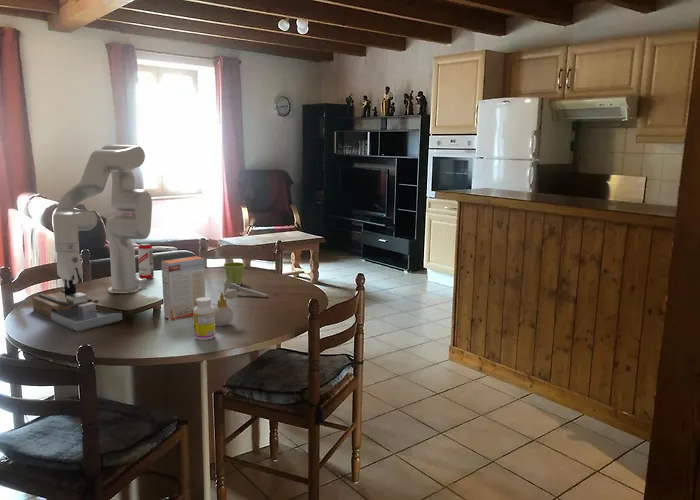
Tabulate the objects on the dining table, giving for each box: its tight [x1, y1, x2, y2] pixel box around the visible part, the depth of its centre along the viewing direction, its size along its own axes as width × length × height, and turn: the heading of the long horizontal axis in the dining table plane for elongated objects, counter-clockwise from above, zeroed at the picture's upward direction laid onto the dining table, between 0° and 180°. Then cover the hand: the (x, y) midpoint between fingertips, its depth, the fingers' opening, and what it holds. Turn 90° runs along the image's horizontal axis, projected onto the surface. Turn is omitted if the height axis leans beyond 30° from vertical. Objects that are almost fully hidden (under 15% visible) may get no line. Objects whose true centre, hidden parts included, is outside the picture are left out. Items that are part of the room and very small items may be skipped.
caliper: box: [223, 279, 268, 296], centre depth 230 cm, size 20×1×6 cm, turn 75°
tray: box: [50, 307, 123, 333], centre depth 194 cm, size 16×18×3 cm
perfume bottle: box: [214, 288, 239, 327], centre depth 193 cm, size 8×10×12 cm
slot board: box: [31, 288, 99, 319], centre depth 202 cm, size 14×20×6 cm
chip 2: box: [77, 302, 97, 320], centre depth 194 cm, size 5×5×3 cm
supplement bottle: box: [192, 296, 216, 341], centre depth 179 cm, size 7×7×13 cm
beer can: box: [137, 242, 155, 281], centre depth 253 cm, size 6×6×16 cm
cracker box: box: [161, 255, 207, 321], centre depth 200 cm, size 14×6×21 cm, turn 135°
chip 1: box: [66, 292, 88, 306], centre depth 196 cm, size 5×5×3 cm
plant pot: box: [223, 261, 246, 284], centre depth 249 cm, size 9×9×9 cm
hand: (70, 297), depth 199 cm, fingers closed
